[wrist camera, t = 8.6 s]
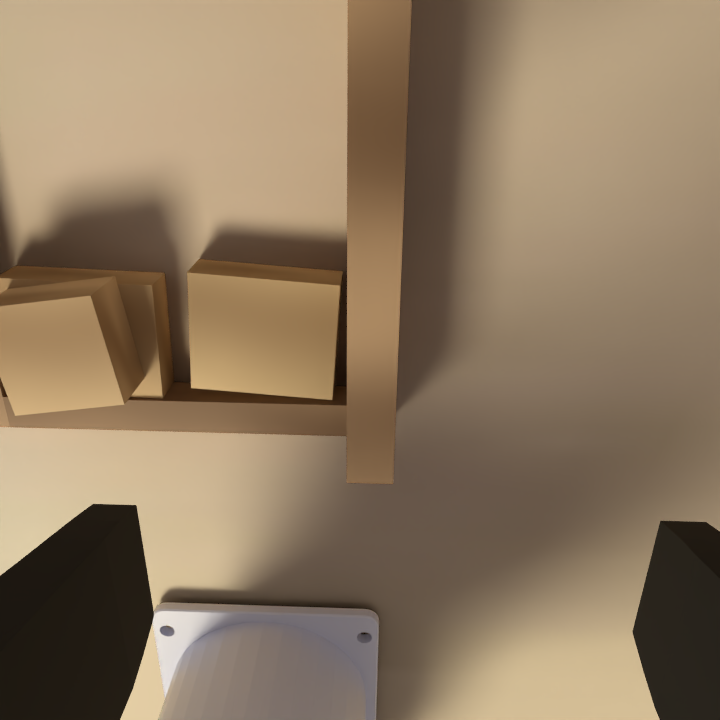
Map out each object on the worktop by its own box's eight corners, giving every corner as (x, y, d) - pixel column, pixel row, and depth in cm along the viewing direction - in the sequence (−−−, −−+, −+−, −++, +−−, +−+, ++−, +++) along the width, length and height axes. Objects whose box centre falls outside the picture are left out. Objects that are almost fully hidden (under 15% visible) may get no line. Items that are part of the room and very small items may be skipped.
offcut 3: (336, 375, 20) (332, 400, 19) (205, 363, 20) (191, 387, 19) (343, 267, 19) (340, 285, 17) (202, 255, 19) (186, 272, 17)
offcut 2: (178, 374, 20) (163, 398, 19) (43, 367, 20) (17, 391, 19) (169, 267, 19) (151, 285, 17) (24, 260, 19) (-6, 277, 18)
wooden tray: (391, 416, 20) (393, 484, 17) (-3, 406, 20) (-74, 471, 17) (417, -321, 13) (429, -443, 10) (-183, -319, 13) (-359, -436, 10)
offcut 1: (144, 377, 19) (124, 404, 17) (43, 388, 19) (15, 415, 17) (115, 276, 17) (90, 295, 16) (7, 289, 18) (-27, 309, 16)
